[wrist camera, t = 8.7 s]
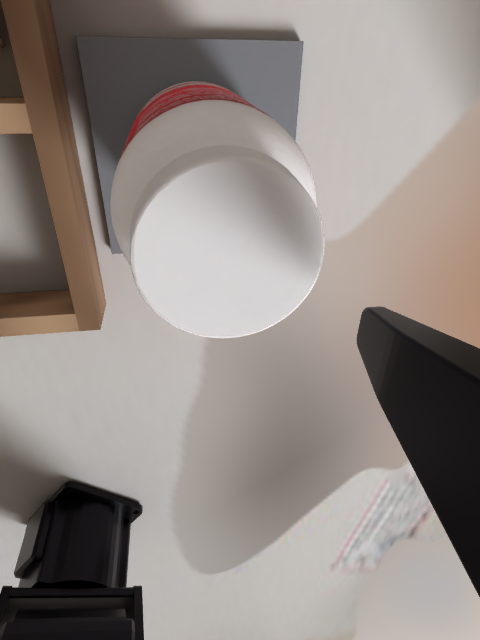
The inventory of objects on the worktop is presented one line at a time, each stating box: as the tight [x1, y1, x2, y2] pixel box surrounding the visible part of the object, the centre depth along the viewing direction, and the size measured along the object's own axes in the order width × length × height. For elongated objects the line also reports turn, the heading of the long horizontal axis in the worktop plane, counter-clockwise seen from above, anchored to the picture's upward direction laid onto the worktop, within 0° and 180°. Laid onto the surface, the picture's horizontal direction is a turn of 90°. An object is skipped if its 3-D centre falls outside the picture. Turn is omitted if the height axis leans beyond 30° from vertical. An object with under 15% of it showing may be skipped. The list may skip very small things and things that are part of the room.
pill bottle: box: [110, 81, 325, 338], centre depth 14 cm, size 6×6×11 cm
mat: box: [76, 36, 303, 254], centre depth 19 cm, size 9×9×1 cm
